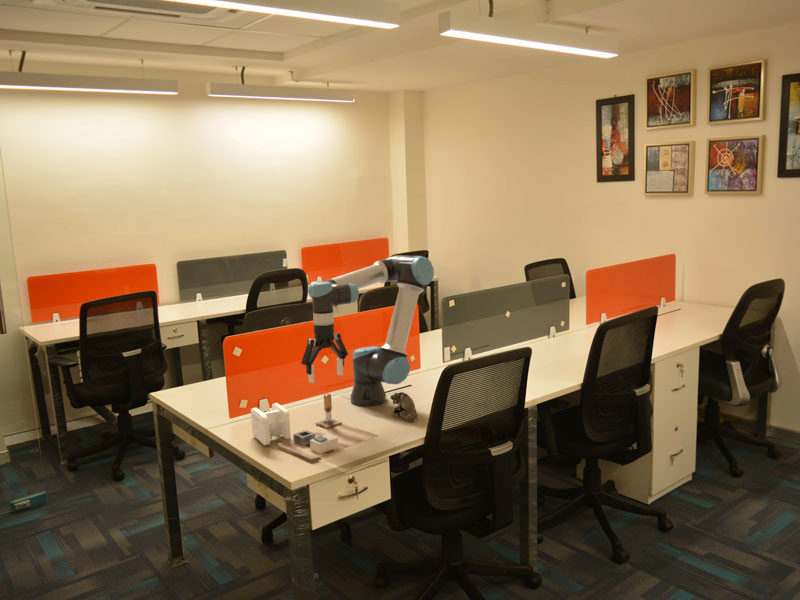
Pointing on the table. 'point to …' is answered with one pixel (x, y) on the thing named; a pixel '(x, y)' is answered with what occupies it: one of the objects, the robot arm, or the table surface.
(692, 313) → the table surface
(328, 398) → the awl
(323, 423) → the tool rest
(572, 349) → the table surface
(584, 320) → the table surface
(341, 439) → the plywood panel
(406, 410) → the figurine
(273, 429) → the cable organizer
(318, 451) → the block
